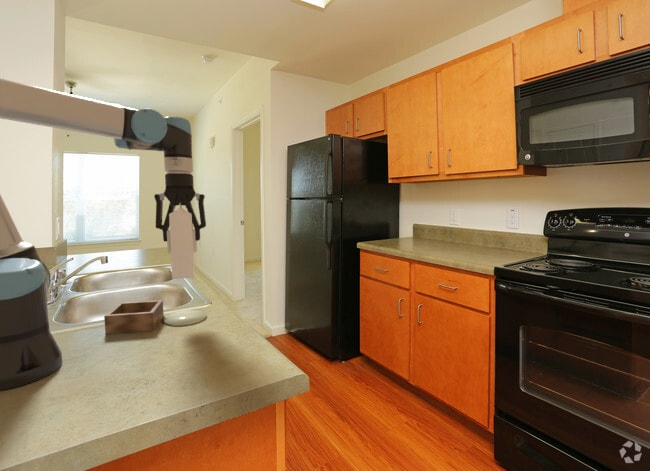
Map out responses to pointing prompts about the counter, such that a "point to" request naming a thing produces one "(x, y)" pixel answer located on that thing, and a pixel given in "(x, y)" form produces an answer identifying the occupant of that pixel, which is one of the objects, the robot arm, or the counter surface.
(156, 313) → the sleeve
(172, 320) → the cream glossy dome
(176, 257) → the milk
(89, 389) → the counter surface
